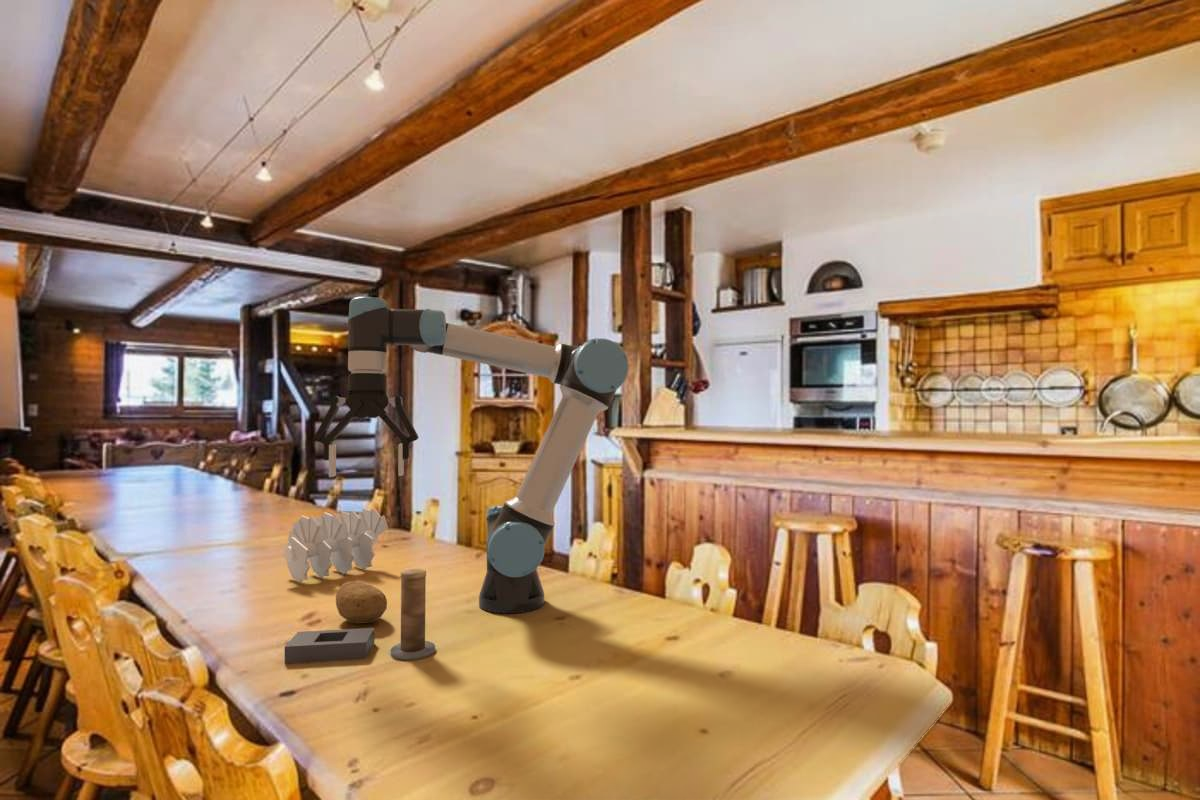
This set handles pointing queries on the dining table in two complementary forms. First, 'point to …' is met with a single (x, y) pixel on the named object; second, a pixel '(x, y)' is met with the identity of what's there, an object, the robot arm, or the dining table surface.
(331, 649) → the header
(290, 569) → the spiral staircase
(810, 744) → the dining table surface
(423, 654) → the coaster
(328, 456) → the robot arm
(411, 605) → the plug
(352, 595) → the potato
